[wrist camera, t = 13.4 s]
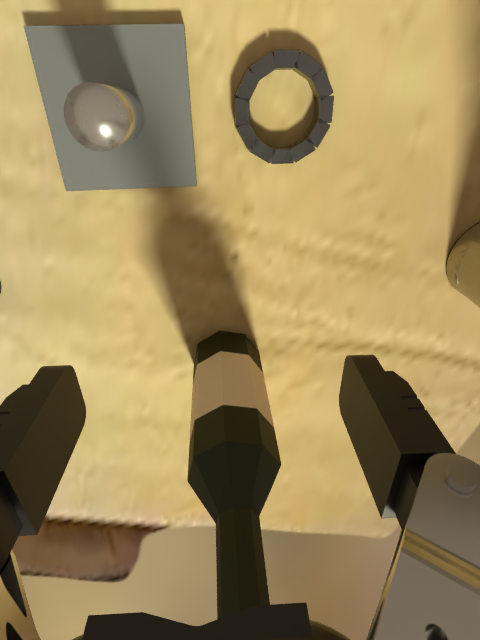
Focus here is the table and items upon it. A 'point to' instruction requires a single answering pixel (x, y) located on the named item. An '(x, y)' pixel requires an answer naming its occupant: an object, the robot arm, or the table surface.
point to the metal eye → (321, 115)
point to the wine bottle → (233, 462)
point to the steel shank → (103, 115)
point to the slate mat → (128, 72)
